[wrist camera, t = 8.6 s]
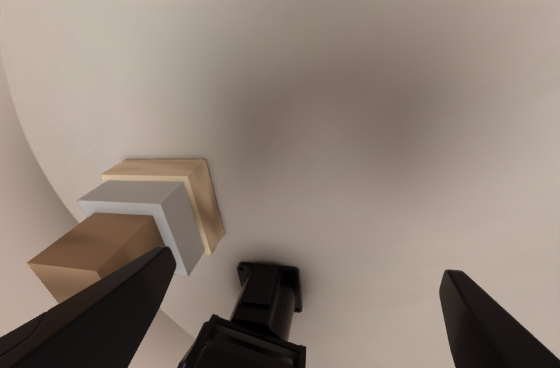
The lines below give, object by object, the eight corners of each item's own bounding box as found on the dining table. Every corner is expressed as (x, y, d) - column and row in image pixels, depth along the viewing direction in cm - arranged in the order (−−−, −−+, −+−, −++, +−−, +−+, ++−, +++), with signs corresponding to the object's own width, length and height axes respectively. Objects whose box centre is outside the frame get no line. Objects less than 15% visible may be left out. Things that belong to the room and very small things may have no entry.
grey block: (205, 250, 24) (188, 276, 21) (138, 244, 26) (115, 268, 23) (183, 181, 20) (160, 204, 18) (108, 180, 22) (77, 200, 20)
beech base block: (224, 232, 27) (211, 254, 24) (154, 228, 28) (135, 247, 26) (205, 159, 23) (187, 176, 20) (126, 159, 24) (100, 174, 22)
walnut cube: (173, 266, 21) (130, 326, 17) (121, 261, 22) (68, 316, 18) (152, 215, 19) (96, 270, 14) (94, 212, 20) (27, 262, 16)
